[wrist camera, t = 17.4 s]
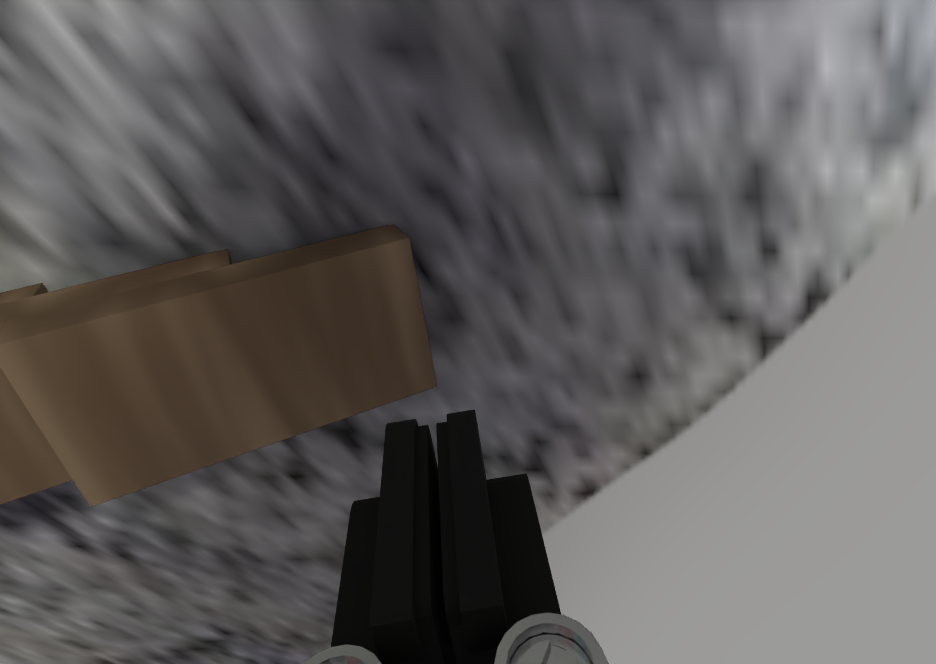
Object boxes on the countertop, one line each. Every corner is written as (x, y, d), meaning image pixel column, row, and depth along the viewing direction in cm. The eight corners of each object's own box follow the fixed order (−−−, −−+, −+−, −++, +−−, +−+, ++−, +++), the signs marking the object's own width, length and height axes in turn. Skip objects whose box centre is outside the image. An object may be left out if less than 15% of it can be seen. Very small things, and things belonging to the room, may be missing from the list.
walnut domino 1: (229, 264, 15) (-237, 382, 12) (282, 409, 18) (-96, 537, 15) (227, 248, 16) (-194, 351, 14) (276, 384, 19) (-72, 498, 16)
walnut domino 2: (408, 237, 15) (-13, 347, 12) (437, 386, 18) (90, 507, 15) (393, 224, 16) (8, 319, 14) (421, 363, 19) (99, 470, 16)
